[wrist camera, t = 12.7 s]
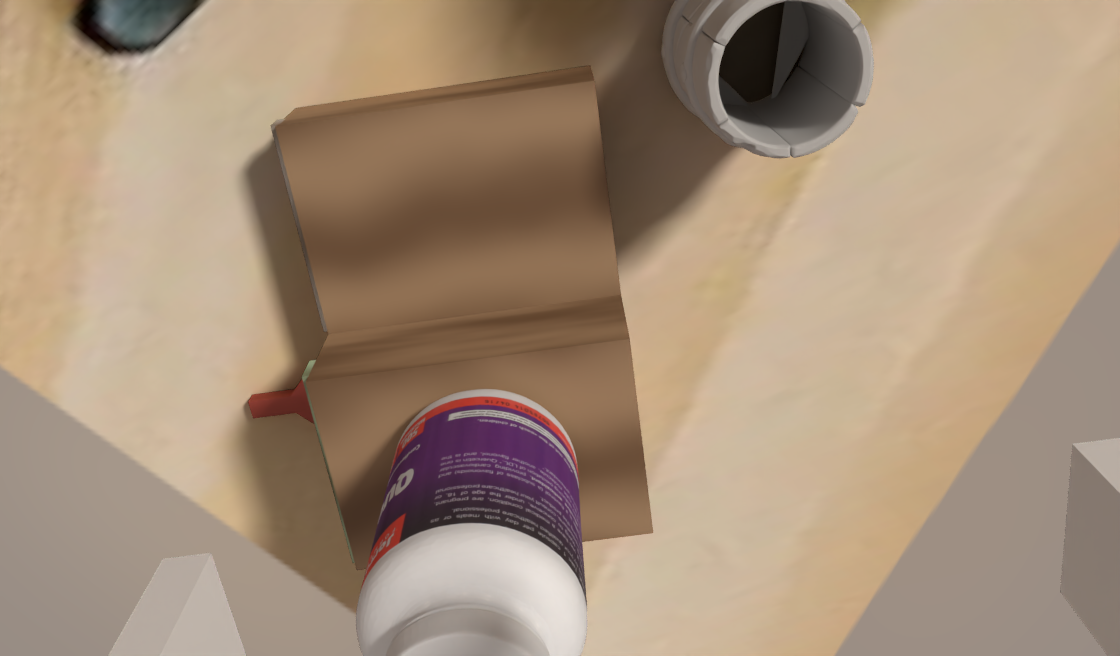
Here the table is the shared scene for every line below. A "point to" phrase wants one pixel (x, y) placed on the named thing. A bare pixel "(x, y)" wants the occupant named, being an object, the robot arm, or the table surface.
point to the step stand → (462, 281)
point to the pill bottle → (478, 536)
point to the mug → (793, 108)
